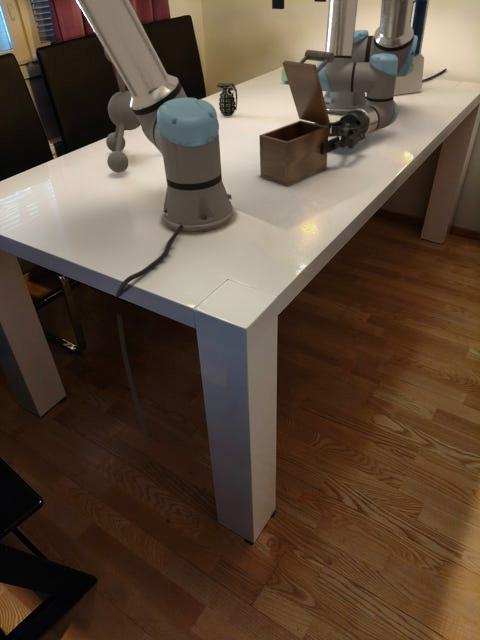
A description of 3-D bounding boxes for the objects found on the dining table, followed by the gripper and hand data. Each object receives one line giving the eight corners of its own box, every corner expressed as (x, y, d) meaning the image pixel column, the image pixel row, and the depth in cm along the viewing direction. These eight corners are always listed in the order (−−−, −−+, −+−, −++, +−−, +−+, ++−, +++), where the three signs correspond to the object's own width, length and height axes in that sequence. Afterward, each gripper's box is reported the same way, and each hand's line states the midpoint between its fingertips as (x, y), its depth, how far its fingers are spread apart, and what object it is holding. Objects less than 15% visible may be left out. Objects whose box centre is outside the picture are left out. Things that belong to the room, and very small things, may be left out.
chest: (287, 186, 119) (287, 143, 112) (260, 177, 124) (259, 135, 118) (326, 168, 127) (328, 126, 120) (299, 160, 132) (300, 120, 126)
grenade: (217, 117, 168) (214, 86, 162) (221, 112, 172) (219, 82, 166) (235, 117, 166) (233, 86, 160) (239, 113, 171) (238, 82, 165)
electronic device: (391, 95, 179) (404, -2, 161) (381, 91, 185) (392, -4, 167) (421, 91, 181) (437, -5, 163) (410, 87, 187) (425, -6, 169)
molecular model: (192, 164, 133) (178, 39, 115) (111, 178, 128) (83, 49, 109) (169, 139, 151) (154, 28, 132) (98, 152, 145) (72, 36, 127)
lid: (313, 67, 108) (335, 43, 110) (282, 62, 113) (304, 40, 115) (327, 125, 120) (347, 103, 122) (299, 119, 125) (318, 98, 127)
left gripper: (329, -126, 99) (323, -2, 112) (240, -130, 86) (245, 11, 99) (359, -131, 95) (349, -1, 108) (271, -136, 82) (272, 12, 95)
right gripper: (391, 145, 131) (340, 169, 120) (324, 129, 145) (273, 150, 133) (395, 116, 127) (342, 138, 115) (326, 103, 140) (273, 121, 128)
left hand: (299, 5), depth 104 cm, fingers open, 13 cm apart
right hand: (305, 144), depth 124 cm, fingers open, 10 cm apart
